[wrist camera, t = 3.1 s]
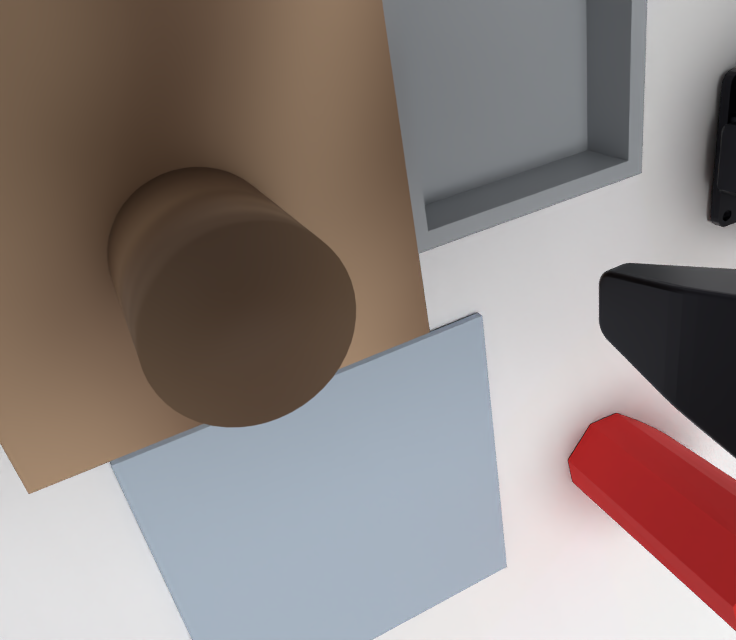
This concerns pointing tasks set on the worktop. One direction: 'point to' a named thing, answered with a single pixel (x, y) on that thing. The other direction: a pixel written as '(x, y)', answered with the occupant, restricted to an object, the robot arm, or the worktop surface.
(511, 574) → the worktop surface
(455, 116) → the tray
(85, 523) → the worktop surface
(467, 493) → the mat
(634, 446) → the french fries
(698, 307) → the robot arm
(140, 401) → the brown knobbed box
